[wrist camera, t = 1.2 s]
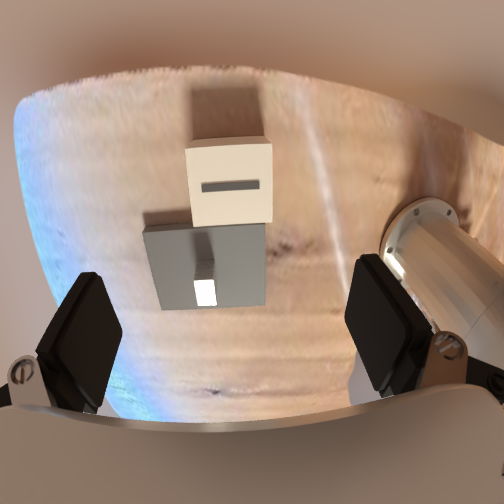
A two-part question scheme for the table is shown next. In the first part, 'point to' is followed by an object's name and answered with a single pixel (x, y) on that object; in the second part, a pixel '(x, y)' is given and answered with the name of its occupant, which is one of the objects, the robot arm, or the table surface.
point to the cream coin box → (230, 180)
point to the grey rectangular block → (205, 282)
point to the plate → (206, 248)
